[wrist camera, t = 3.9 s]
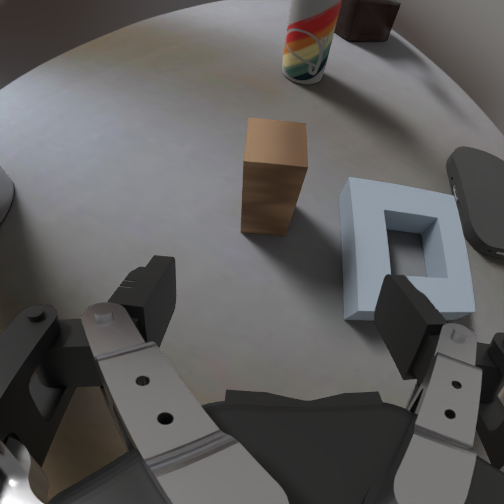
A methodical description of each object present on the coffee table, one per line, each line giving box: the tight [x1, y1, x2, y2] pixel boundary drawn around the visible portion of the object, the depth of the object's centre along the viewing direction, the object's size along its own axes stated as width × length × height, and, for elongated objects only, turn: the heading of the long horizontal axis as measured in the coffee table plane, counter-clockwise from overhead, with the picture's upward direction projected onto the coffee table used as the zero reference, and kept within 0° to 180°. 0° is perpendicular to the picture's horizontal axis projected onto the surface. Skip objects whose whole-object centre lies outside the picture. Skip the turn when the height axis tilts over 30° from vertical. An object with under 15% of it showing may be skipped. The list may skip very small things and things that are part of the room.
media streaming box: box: [446, 147, 504, 259], centre depth 31 cm, size 15×15×3 cm
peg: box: [241, 118, 308, 236], centre depth 25 cm, size 4×4×10 cm
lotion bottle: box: [282, 0, 342, 84], centre depth 29 cm, size 6×6×20 cm
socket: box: [339, 177, 475, 321], centre depth 27 cm, size 12×12×4 cm
